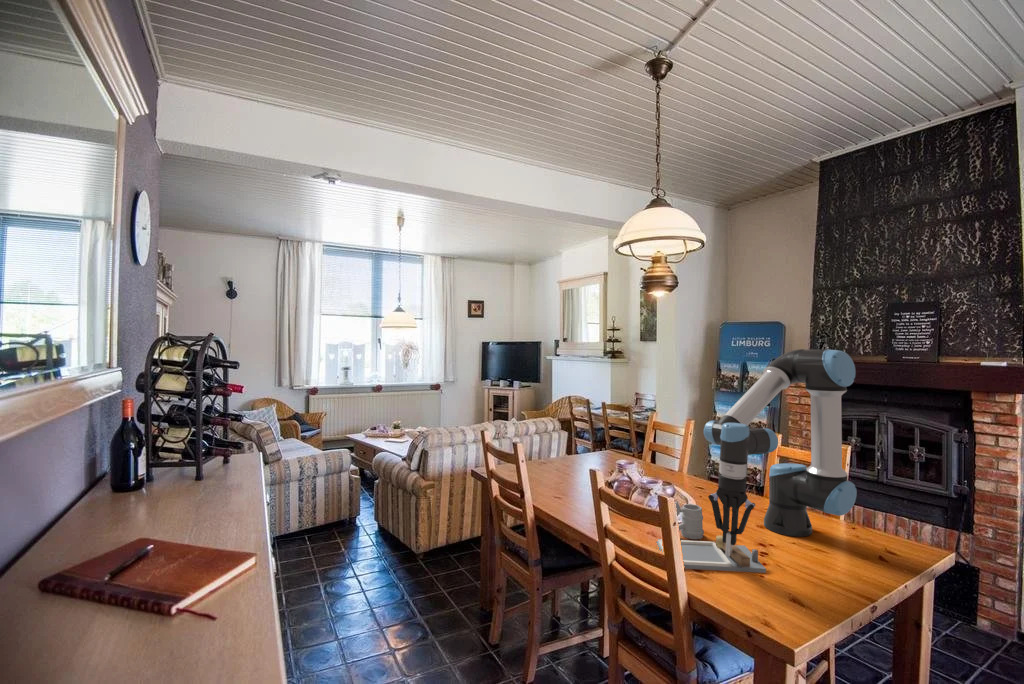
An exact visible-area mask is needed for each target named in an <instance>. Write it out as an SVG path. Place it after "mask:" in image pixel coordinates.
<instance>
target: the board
mask: <svg viewBox="0 0 1024 684" xmlns="http://www.w3.org/2000/svg"><path fill="white" fill-rule="evenodd" d="M662 539H663V538H662ZM662 539H661V538H658V539H657V541H655V544H656V543H657V545H658V547H659V550H660V551H661V549H662V552H663V546H662ZM680 540H681V546H682V553H683V561H684V566H685V569H686V570H707V571H725V572H741V573H758V574H759V573H761V574H762V573H764V574H765V573H767V568H766V566H764V565H763V564H762V563H761V562H760V561H759V550H758V549H751V550H750V549H749V548H748V547H747V546H746V545H739V544H735V545H736V546H737V547H738V548H739V549H740V550H741V551H742V552H744V553H745V554H746V555H747V556H748V557H749V558H750V567H741V566H740V565H739V564H738V563H737V562H736V561H735V560H734V559H733V558H732V557H731V556H726V555H725V551H724V550H723V549H722V548H719V547H717V546H716V541H710V540H709V541H708V540H707V541H706V540H703V541H702V540H688V539H680ZM659 550H658V551H659Z"/></svg>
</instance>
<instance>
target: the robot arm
mask: <svg viewBox="0 0 1024 684" xmlns="http://www.w3.org/2000/svg"><path fill="white" fill-rule="evenodd" d="M855 379H856V365H855V363H854V361H853V359H852V357H851V356H850V355H849V354H848V353H847V352H845V351H843V350H838V349H804V348H803V349H802V348H801V349H799V348H798V349H793V350H790V351H788V352H785V353H783V354H781V355H780V356H778V357H777V358H775V359H774V360H773V361H771V362H770V363H769V364H768V365H767V366H766V367H765V368H764V369H763V370H762V375H761V376H760V377H759V378H758V379H757V381H756V382H755V383H753V385H751V387H750V388H749V389H748V390H747V391H746V392H745V393H744V394H743V395H742V396H741V397H740V398H739V399H738V400H737V401H736V402H735V404H733V405H732V407H731V408H730V409H729V410H728V411H726V412H725V414H723V416H722V417H721V418H720V419H719V420H709V421H707V422H706V423H705V424H704V428H703V436H704V438H705V440H707V442H709V443H712V444H715V445H717V446H720V447H719V448H720V450H719V452H720V453H719V465H718V466H719V468H718V471H719V474H718V485H717V486H718V488H717V489H716V492H714V493H710V494H709V495H708V500H709V501H710V503H711V507H712V511H713V517H714V522H715V526H716V528H717V529H718V530H721V531H722V536H723V542H724V543H726V552H725V555H726V556H730V555H731V554H732V545H737V544H736V543H737V535H742V534H743V532H744V531H745V528H746V525H747V523H748V522H749V521H748V520H749V518H750V514H751V512H752V510H753V509H754V508H755V507H756V503H754V502H751V501H750V499H748V495H747V482H748V481H747V476H748V458H749V457H748V456H751V455H762V454H763V455H766V454H769V453H773V452H775V451H776V450H777V449H778V446H779V438H778V436H777V434H776V432H775V431H774V430H772V429H770V428H765V427H764V428H763V427H759V428H755V427H750V426H749V425H750V424H751V423H752V422H753V421H754V420H755V419H756V418H757V417H758V415H759V414H761V412H762V411H763V410H765V408H766V407H767V406H768V405H769V404H770V403H771V401H772V400H773V399H774V398H775V397H777V395H778V394H779V393H780V392H782V390H786V389H787V388H789V387H790V386H791V385H792V384H798V383H801V384H802V383H803V384H805V385H804V387H805V391H806V392H808V393H809V394H810V448H811V449H810V450H811V451H810V456H811V457H810V459H811V461H810V465H809V466H807V465H805V464H802V463H800V464H799V463H792V462H791V463H786V462H785V463H775V464H772V465H771V466H770V467H769V473H768V474H769V475H768V479H769V481H768V482H769V484H768V485H769V486H768V487H769V491H768V492H769V499H768V501H769V505H768V507H767V510H766V512H765V514H764V517H763V526H764V527H765V528H766V529H767V530H769V531H771V532H774V533H777V534H780V535H785V536H789V537H800V538H801V537H809V536H811V535H812V534H813V525H812V522H811V519H810V517H809V513H808V511H807V508H811V509H815V510H817V511H820V512H823V513H825V514H830V515H833V516H840V517H841V516H844V515H846V514H848V513H849V512H850V511H851V510H852V508H853V507H854V505H855V503H856V500H857V487H856V485H855V484H854V483H853V482H852V481H849V480H848V477H849V474H848V472H847V471H846V470H845V469H844V468H843V455H842V454H843V451H842V450H843V448H842V447H843V445H842V443H843V434H842V433H843V431H842V429H843V428H842V426H843V425H842V422H843V421H842V396H843V395H844V394H846V393H847V391H848V389H847V387H850V386H851V385H853V383H854V382H855ZM718 500H719V501H718ZM719 502H721V504H722V510H723V511H722V513H723V514H721V510H720V509H721V508H720V505H719ZM744 503H745V505H744ZM742 505H744V507H745V510H744V512H743V514H742V518H741V520H740V522H739V510H740V508H741V507H742ZM730 513H731V525H730ZM739 523H740V524H739Z"/></svg>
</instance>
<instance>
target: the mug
mask: <svg viewBox="0 0 1024 684" xmlns="http://www.w3.org/2000/svg"><path fill="white" fill-rule="evenodd" d="M675 504H676V508H677V517H678V516H679V515H680V513H681V515H680V516H681V523H679V524H678V525H679V531H680V534H681V536H682V537H684V538H685V539H690V540H693V541H698V540H702V539H703V537H704V534H705V530H704V529H703V527H704V526H703V525H704V524H703V520H704V515H703V507H701V506H700V505H698V504H693V503H686V504H683V505H682V508H681V506H680V504H679V502H678V501H674V505H675Z"/></svg>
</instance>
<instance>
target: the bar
mask: <svg viewBox="0 0 1024 684" xmlns="http://www.w3.org/2000/svg"><path fill="white" fill-rule="evenodd" d="M715 543H716V546H717V547H719V548H722V549H723V550H724V551H725V552H726V543H724V542H723V535H716V537H715ZM736 545H737V544H735V545H732V554H731V555H730V556H731V557H732V558H733V559H734V560H735V561H736V562H737V563H738V564H739V565H740V566H741V567H750V558H749V557H748V556H747V555H746V554H745V553H744V552H742V551H741V550H740V549H739V548H738V547H737V546H736Z"/></svg>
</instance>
